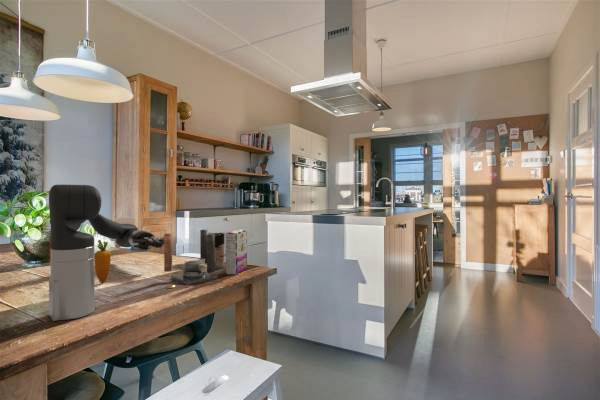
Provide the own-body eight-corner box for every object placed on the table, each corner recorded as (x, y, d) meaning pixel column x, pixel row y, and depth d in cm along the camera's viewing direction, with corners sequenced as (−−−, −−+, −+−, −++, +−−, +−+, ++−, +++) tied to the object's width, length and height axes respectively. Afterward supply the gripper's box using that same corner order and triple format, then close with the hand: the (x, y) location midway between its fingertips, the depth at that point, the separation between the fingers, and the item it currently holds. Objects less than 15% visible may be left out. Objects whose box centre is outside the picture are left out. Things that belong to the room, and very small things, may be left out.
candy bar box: (236, 268, 135) (236, 229, 135) (247, 268, 134) (247, 229, 134) (224, 274, 124) (224, 232, 124) (236, 275, 123) (237, 232, 123)
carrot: (113, 283, 110) (113, 240, 110) (96, 286, 107) (96, 241, 106) (108, 280, 114) (108, 238, 113) (92, 283, 110) (92, 240, 110)
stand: (168, 288, 105) (168, 279, 105) (153, 281, 114) (153, 272, 113) (218, 278, 118) (218, 270, 118) (201, 272, 127) (201, 264, 127)
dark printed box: (213, 270, 131) (213, 233, 131) (205, 267, 136) (205, 231, 136) (227, 267, 136) (227, 232, 135) (219, 264, 141) (219, 230, 140)
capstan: (181, 279, 104) (181, 238, 104) (159, 270, 116) (159, 233, 116) (228, 270, 117) (229, 233, 117) (205, 262, 129) (205, 229, 129)
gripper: (157, 246, 138) (176, 252, 127) (124, 250, 129) (141, 257, 117) (157, 229, 138) (176, 233, 126) (124, 232, 129) (141, 236, 117)
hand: (159, 245), depth 122 cm, fingers closed
